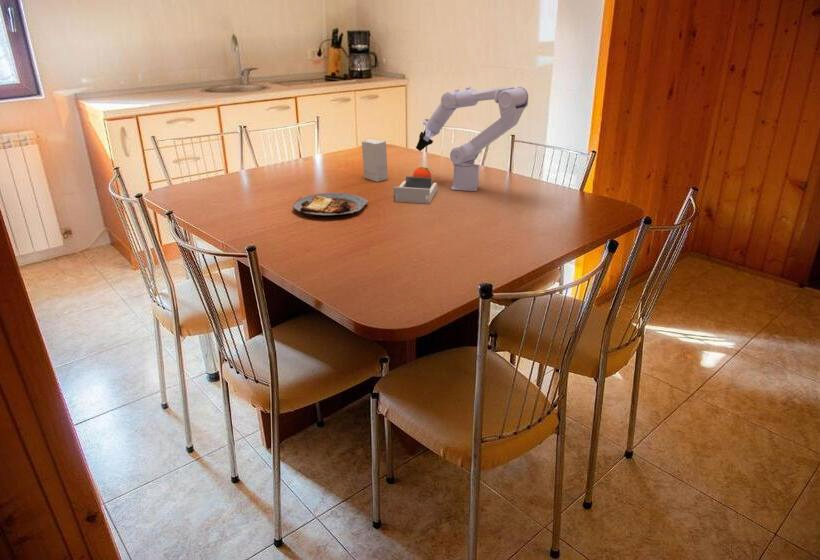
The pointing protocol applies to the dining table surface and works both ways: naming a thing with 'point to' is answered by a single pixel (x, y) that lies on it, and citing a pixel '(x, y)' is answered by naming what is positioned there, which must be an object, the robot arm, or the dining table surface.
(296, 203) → the food plate
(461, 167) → the robot arm
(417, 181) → the block
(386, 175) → the skincare box
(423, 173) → the clementine
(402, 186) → the grey open tray
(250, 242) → the dining table surface
